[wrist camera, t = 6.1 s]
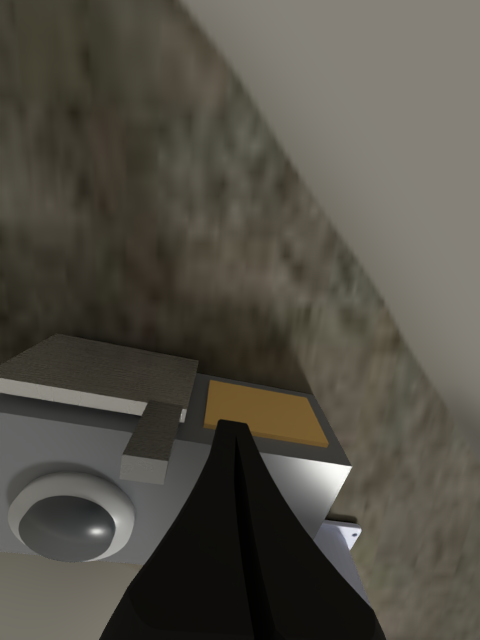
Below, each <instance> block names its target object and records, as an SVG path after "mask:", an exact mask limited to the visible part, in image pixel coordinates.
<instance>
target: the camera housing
mask: <svg viewBox="0 0 480 640" xmlns="http://www.w3.org/2000/svg"><path fill="white" fill-rule="evenodd" d="M140 418H141V416H140V415H134V414H128V413H122V412H116V411H110V410H103V409H97V408H91V407H85V406H79V405H73V404H66V403H60V402H54V401H48V400H42V399H36V398H30V397H23V396H17V395H11V394H5V393H0V551H1V552H11V553H21V554H32V555H41V556H44V557H46V558H49V559H53V560H57V561H63V562H85V561H93V560H98V561H109V562H120V563H131V564H142V565H144V564H145V563H146V562H147V560H148V559H149V557H150V556H151V555H152V553H153V552H154V550H155V549H156V547H157V546H158V544H159V543H160V541H161V540H162V538H163V537H164V535H165V534H166V532H167V531H168V529H169V528H170V527H171V525H172V523H173V522H174V520H175V519H176V517H177V515H178V514H179V512H180V510H181V509H182V507H183V505H184V504H185V502H186V500H187V499H188V497H189V495H190V493H191V491H192V489H193V488H194V486H195V484H196V482H197V480H198V478H199V476H200V474H201V472H202V470H203V467H204V465H205V463H206V461H207V459H208V456H209V454H210V450H211V446H212V442H213V438H214V434H215V430H216V427H217V423H218V420H220V419H224V420H230V421H236V422H242V423H247V424H248V426H249V429H250V431H251V434H252V436H253V439H254V441H255V444H256V446H257V448H258V450H259V452H260V455H261V457H262V459H263V461H264V463H265V465H266V467H267V469H268V471H269V473H270V475H271V477H272V478H273V480H274V482H275V484H276V486H277V487H278V489H279V491H280V492H281V494H282V496H283V497H284V499H285V501H286V502H287V504H288V505H289V507H290V509H291V510H292V512H293V513H294V515H295V516H296V517H297V519H298V520H299V522H300V523H301V525H302V526H303V528H304V529H305V530H306V532H307V533H308V534H309V536H310V537H311V538H312V539H313V540H314V538H315V536H316V534H317V532H318V531H319V529H320V527H321V525H322V523H323V521H324V519H325V517H326V515H327V513H328V511H329V510H330V508H331V506H332V504H333V502H334V500H335V498H336V496H337V494H338V492H339V491H340V489H341V487H342V485H343V483H344V481H345V479H346V477H347V475H348V473H349V472H350V470H351V468H352V465H351V464H350V462H349V460H348V458H347V456H346V454H345V452H344V450H343V449H342V447H341V445H340V443H339V441H338V439H337V437H336V436H335V434H334V432H333V430H332V428H331V426H330V424H329V422H328V421H327V419H326V417H325V415H324V413H323V411H322V409H321V407H320V406H319V404H318V402H317V400H316V398H315V396H314V395H311V394H306V393H301V392H295V391H290V390H285V389H279V388H274V387H269V386H263V385H258V384H253V383H248V382H242V381H237V380H232V379H226V378H221V377H216V376H210V375H205V374H200V373H196V376H195V380H194V384H193V388H192V392H191V396H190V401H189V405H188V409H187V413H186V417H185V421H184V423H183V422H180V424H179V428H178V432H177V436H176V440H175V443H174V447H173V451H172V454H171V458H170V462H169V466H168V469H167V473H166V477H165V481H164V484H163V485H161V484H153V483H146V482H138V481H130V480H123V479H119V478H120V469H121V460H122V454H123V452H124V450H125V448H126V446H127V444H128V442H129V440H130V438H131V436H132V434H133V432H134V430H135V428H136V426H137V424H138V422H139V420H140Z"/></svg>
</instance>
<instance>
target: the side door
mask: <svg viewBox="0 0 480 640" xmlns="http://www.w3.org/2000/svg"><path fill="white" fill-rule="evenodd" d="M198 363H199V361H198V360H192V359H187V358H182V357H177V356H172V355H167V354H162V353H156V352H151V351H146V350H141V349H136V348H131V347H126V346H120V345H115V344H110V343H105V342H100V341H95V340H89V339H84V338H79V337H74V336H69V335H64V334H59V333H56V334H55V335H53V336H51V337H49V338H47V339H46V340H44V341H42V342H40V343H38V344H37V345H35V346H33V347H31V348H29V349H28V350H26V351H24V352H22V353H20V354H19V355H17V356H15V357H13V358H11V359H10V360H8V361H6V362H4V363H2V364H1V365H0V393H5V394H11V395H17V396H23V397H30V398H36V399H42V400H48V401H54V402H60V403H66V404H73V405H79V406H85V407H91V408H97V409H103V410H110V411H116V412H122V413H128V414H134V415H140V416H141V418H140V420H139V422H138V424H137V426H136V428H135V430H134V432H133V434H132V436H131V438H130V440H129V442H128V444H127V446H126V448H125V450H124V452H123V454H122V460H121V469H120V478H119V479H123V480H130V481H138V482H146V483H153V484H161V485H163V484H164V481H165V477H166V473H167V469H168V466H169V462H170V458H171V454H172V451H173V447H174V443H175V440H176V436H177V432H178V428H179V424H180V422H183V423H184V421H185V417H186V413H187V409H188V405H189V401H190V396H191V392H192V388H193V384H194V380H195V376H196V372H197V368H198Z"/></svg>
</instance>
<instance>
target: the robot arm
mask: <svg viewBox="0 0 480 640" xmlns="http://www.w3.org/2000/svg"><path fill="white" fill-rule="evenodd" d="M361 531H362V530H361V527H360V525H359V524H354V523H346V522H338V521H330V520H324V521H323V523H322V525H321V527H320V529H319V531H318V532H317V534H316V536H315V538H314V540H313V539H312V538H311V537H310V536H309V534H308V533H307V532H306V530H305V529H304V528H303V526H302V525H301V523H300V522H299V520H298V519H297V517H296V516H295V515H294V513H293V512H292V510H291V509H290V507H289V505H288V504H287V502H286V501H285V499H284V497H283V496H282V494H281V492H280V491H279V489H278V487H277V486H276V484H275V482H274V480H273V478H272V477H271V475H270V473H269V471H268V469H267V467H266V465H265V463H264V461H263V459H262V457H261V455H260V452H259V450H258V448H257V446H256V444H255V441H254V439H253V436H252V434H251V431H250V429H249V426H248V424H247V423H242V422H236V421H230V420H224V419H220V420H218V423H217V427H216V430H215V434H214V438H213V442H212V446H211V450H210V454H209V456H208V459H207V461H206V463H205V465H204V467H203V470H202V472H201V474H200V476H199V478H198V480H197V482H196V484H195V486H194V488H193V489H192V491H191V493H190V495H189V497H188V499H187V500H186V502H185V504H184V505H183V507H182V509H181V510H180V512H179V514H178V515H177V517H176V519H175V520H174V522H173V523H172V525H171V527H170V528H169V529H168V531H167V532H166V534H165V535H164V537H163V538H162V540H161V541H160V543H159V544H158V546H157V547H156V549H155V550H154V552H153V553H152V555H151V556H150V557H149V559H148V560H147V562H146V563H145V564H144V566H143V567H142V568H141V570H140V571H139V572H138V574H137V575H136V576H135V578H134V579H133V581H132V582H131V583H130V585H129V586H128V588H127V590H126V591H125V593H124V595H123V597H122V599H121V600H120V602H119V604H118V606H117V608H116V609H115V611H114V613H113V615H112V616H111V618H110V620H109V622H108V623H107V625H106V627H105V629H104V631H103V633H102V635H101V637H100V639H99V640H386V638H385V635H384V633H383V630H382V628H381V626H380V624H379V622H378V619H377V617H376V615H375V613H374V610H373V609H372V608H371V605H370V602H369V600H368V597H367V595H366V592H365V589H364V587H363V584H362V582H361V579H360V576H359V574H358V571H357V569H356V566H355V563H354V561H353V558H352V555H351V553H350V549H351V548H352V546H353V544H354V543H355V541H356V539H357V538H358V536H359V535H360V533H361Z"/></svg>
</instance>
